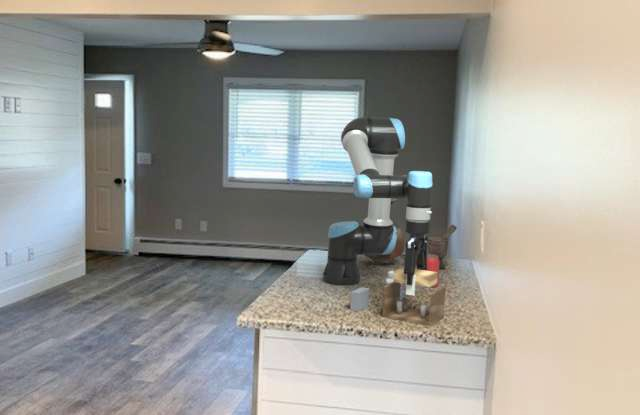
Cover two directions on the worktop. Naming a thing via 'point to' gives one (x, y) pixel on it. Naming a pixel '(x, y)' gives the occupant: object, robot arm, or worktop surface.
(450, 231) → the mortar and pestle
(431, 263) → the beer can
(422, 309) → the peg frame
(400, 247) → the vase
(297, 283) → the worktop surface
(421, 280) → the shelf board
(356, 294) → the riser block
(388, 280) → the pill bottle
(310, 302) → the worktop surface
